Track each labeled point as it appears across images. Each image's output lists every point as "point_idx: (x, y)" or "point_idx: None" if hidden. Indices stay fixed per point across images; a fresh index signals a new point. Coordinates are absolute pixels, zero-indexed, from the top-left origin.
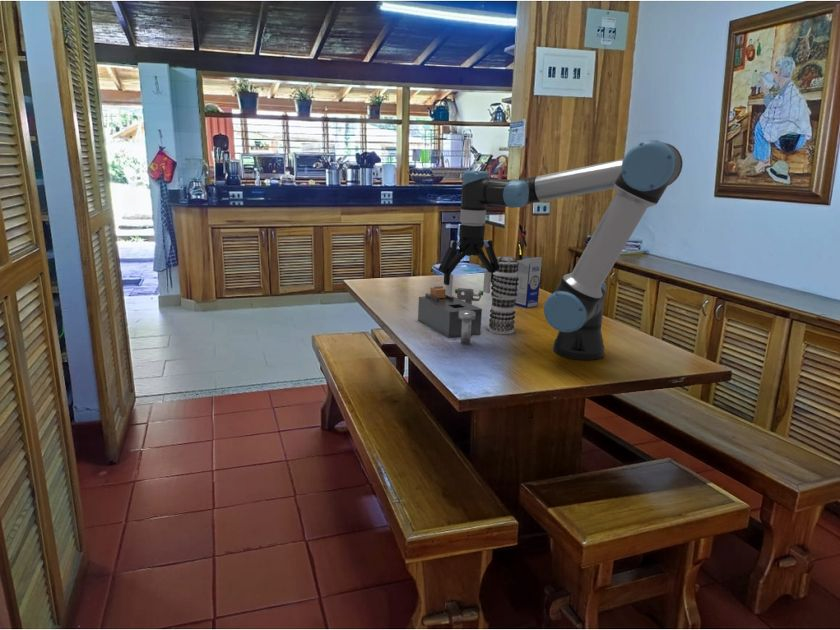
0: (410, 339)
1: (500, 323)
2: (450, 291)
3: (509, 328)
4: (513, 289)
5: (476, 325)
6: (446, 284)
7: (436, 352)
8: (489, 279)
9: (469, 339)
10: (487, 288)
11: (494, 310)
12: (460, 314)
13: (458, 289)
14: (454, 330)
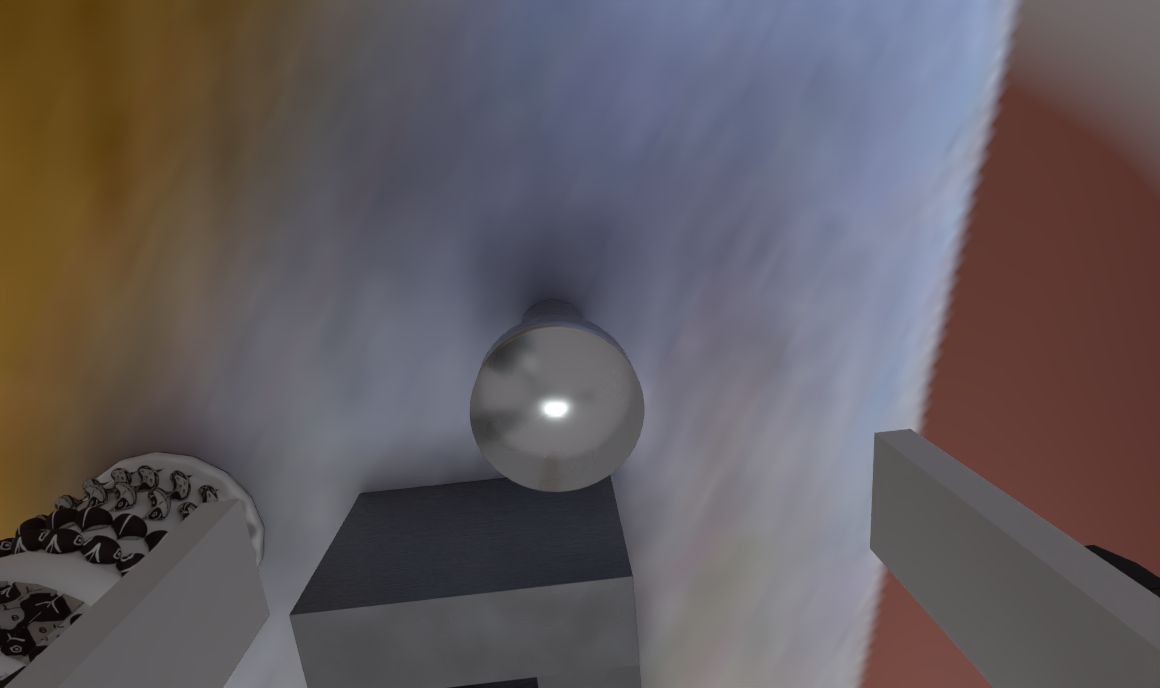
0: (856, 487)
1: (169, 515)
2: (946, 463)
3: (118, 470)
4: None
5: (379, 524)
6: (1101, 553)
7: (830, 202)
8: (60, 669)
9: (537, 310)
10: (205, 560)
11: None
12: (640, 390)
13: None
14: (569, 493)
